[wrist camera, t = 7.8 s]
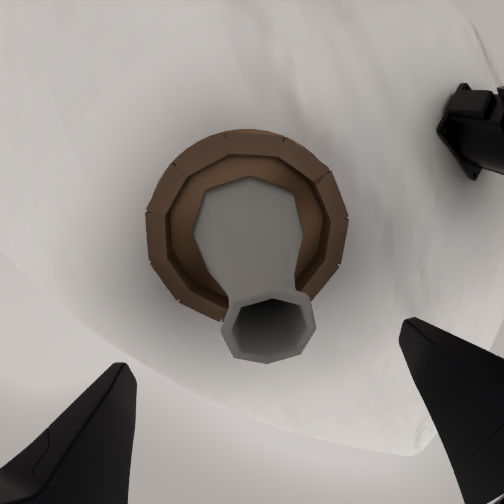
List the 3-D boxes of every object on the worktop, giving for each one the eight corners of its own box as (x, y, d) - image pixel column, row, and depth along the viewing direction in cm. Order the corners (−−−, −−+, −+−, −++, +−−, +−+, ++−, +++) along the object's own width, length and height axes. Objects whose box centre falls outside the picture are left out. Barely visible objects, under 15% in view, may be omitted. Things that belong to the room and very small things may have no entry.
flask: (190, 175, 16) (144, 227, 7) (307, 176, 17) (392, 228, 8) (195, 279, 19) (176, 396, 10) (297, 278, 20) (345, 386, 11)
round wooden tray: (371, 202, 18) (385, 210, 17) (269, 331, 22) (273, 349, 20) (215, 91, 15) (214, 85, 13) (123, 257, 19) (113, 270, 17)
